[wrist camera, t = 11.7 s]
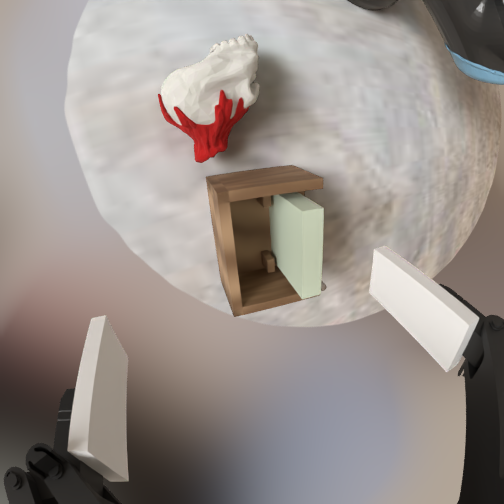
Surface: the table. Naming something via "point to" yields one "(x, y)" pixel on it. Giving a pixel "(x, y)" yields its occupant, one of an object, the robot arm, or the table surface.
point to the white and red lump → (212, 94)
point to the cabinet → (252, 234)
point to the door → (298, 241)
